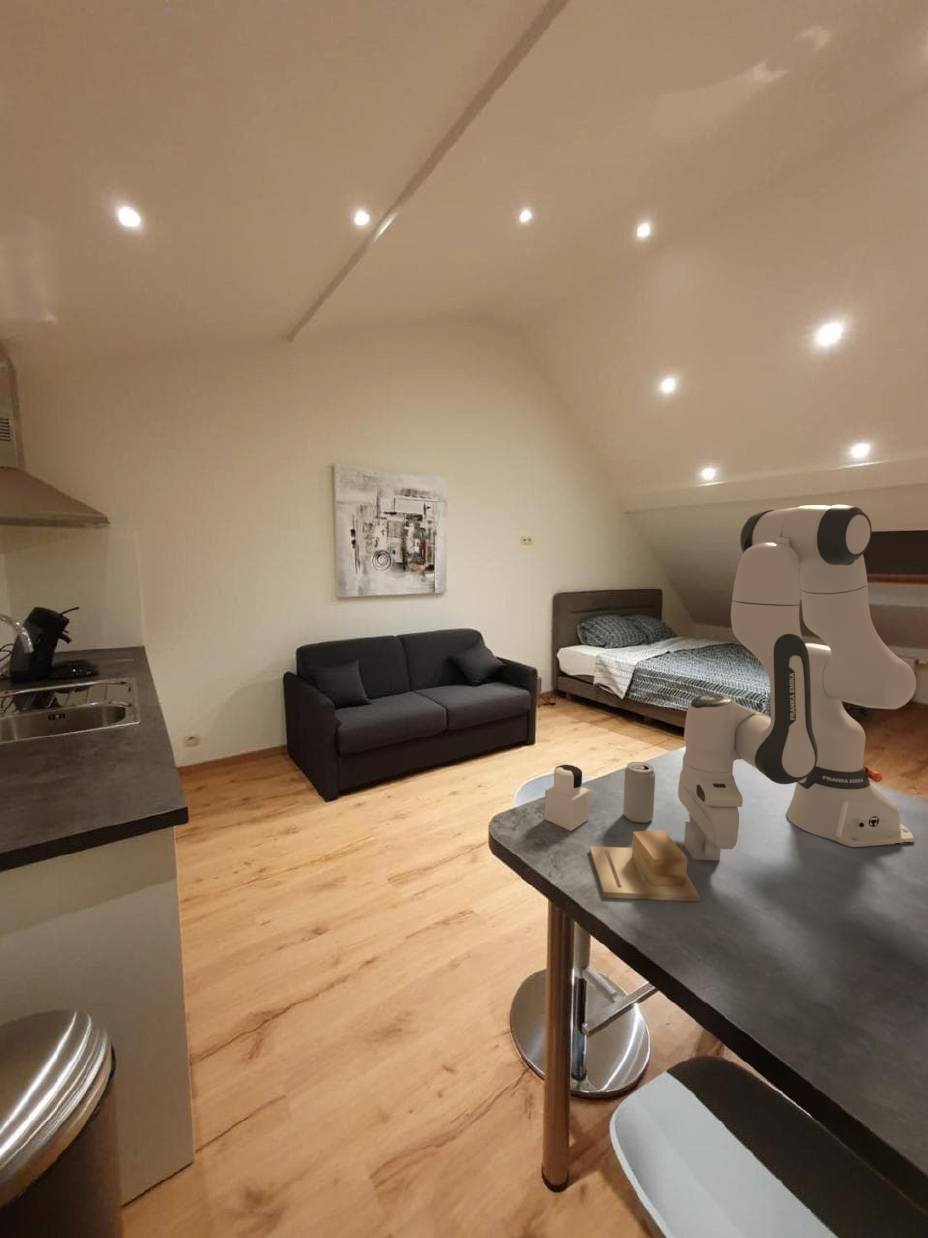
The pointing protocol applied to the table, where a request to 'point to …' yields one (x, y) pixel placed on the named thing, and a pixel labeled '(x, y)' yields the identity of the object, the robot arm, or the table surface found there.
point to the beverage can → (639, 792)
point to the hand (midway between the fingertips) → (702, 844)
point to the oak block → (659, 858)
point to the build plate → (633, 878)
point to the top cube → (697, 842)
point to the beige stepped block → (567, 798)
